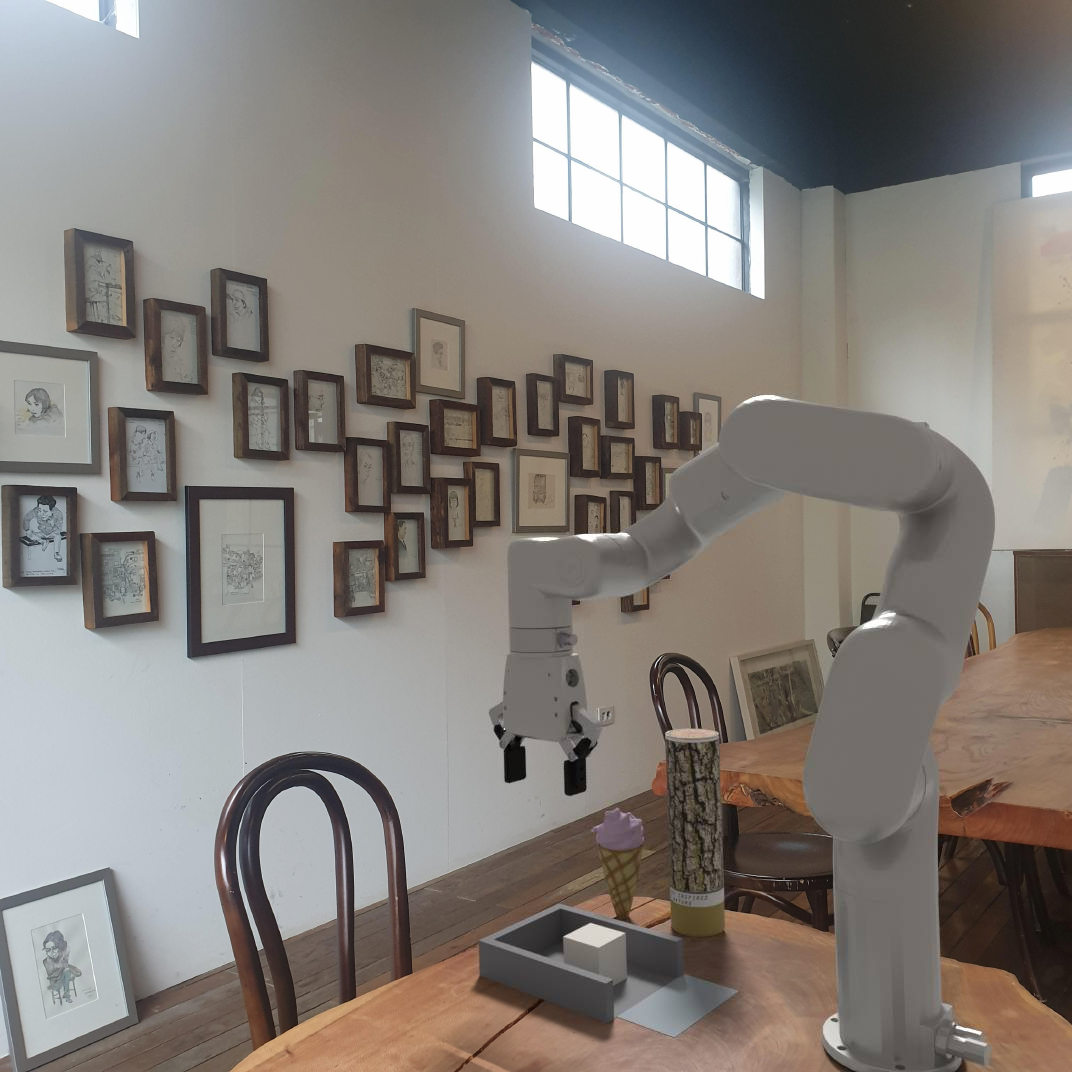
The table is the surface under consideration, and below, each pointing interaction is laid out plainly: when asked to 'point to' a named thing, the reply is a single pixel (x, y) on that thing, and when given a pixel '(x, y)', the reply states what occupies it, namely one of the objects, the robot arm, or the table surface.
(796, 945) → the table surface
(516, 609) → the robot arm
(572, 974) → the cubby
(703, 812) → the paper tube
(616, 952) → the cream block
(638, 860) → the ice cream cone
